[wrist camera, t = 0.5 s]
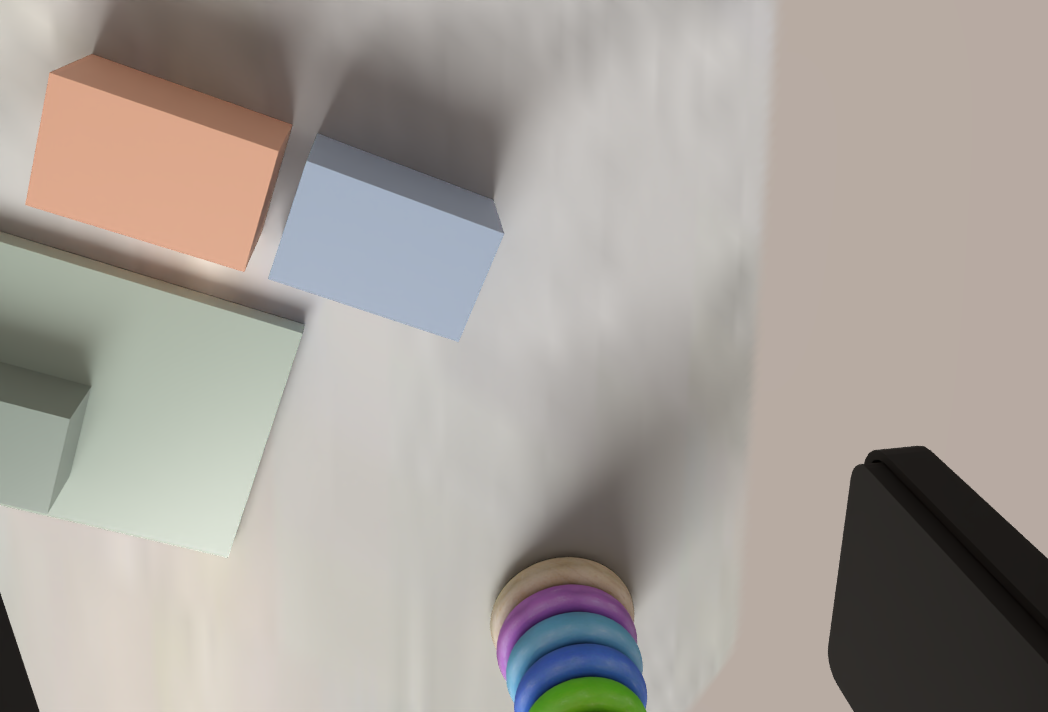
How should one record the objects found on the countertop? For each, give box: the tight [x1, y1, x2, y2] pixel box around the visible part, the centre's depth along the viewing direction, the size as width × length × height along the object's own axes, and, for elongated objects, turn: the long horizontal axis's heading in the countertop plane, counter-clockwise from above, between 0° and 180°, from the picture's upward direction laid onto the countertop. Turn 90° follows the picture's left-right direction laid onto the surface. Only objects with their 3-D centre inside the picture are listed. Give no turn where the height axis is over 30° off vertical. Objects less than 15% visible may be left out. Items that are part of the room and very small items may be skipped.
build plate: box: [0, 232, 305, 558], centre depth 40 cm, size 13×16×4 cm
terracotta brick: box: [25, 54, 292, 272], centre depth 36 cm, size 5×8×5 cm, turn 68°
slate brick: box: [268, 133, 504, 342], centre depth 38 cm, size 5×8×5 cm, turn 67°
